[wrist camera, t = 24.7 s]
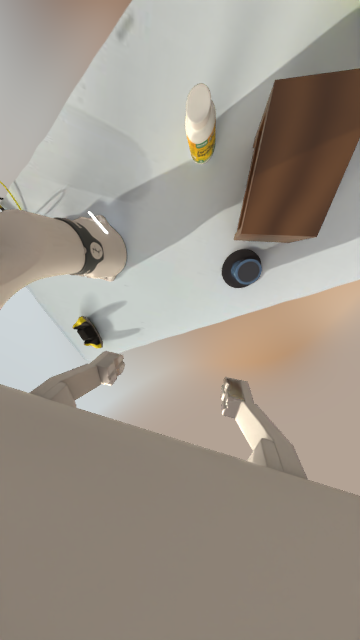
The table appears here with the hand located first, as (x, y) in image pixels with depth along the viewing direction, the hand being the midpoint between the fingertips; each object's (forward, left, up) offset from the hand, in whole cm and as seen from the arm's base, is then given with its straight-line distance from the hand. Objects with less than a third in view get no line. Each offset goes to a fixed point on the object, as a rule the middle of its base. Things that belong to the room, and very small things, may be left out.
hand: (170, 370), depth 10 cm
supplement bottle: (-4, +30, -35) cm, 46 cm away
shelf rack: (+13, +22, -35) cm, 43 cm away
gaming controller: (-45, -24, -35) cm, 62 cm away
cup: (+10, +6, -35) cm, 37 cm away
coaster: (+10, +6, -35) cm, 37 cm away
